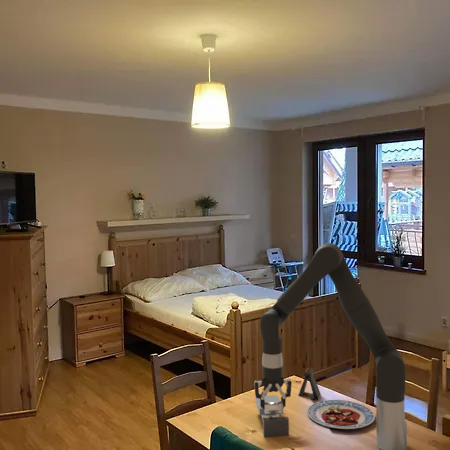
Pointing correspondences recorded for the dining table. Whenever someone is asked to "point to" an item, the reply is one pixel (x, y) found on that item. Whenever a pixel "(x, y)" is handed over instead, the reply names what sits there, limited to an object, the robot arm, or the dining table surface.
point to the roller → (273, 407)
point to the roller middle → (269, 416)
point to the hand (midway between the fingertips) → (273, 408)
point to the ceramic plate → (341, 414)
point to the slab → (267, 399)
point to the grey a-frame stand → (314, 386)
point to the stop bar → (275, 426)
